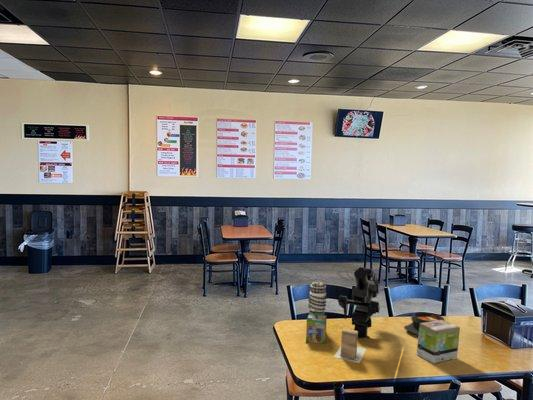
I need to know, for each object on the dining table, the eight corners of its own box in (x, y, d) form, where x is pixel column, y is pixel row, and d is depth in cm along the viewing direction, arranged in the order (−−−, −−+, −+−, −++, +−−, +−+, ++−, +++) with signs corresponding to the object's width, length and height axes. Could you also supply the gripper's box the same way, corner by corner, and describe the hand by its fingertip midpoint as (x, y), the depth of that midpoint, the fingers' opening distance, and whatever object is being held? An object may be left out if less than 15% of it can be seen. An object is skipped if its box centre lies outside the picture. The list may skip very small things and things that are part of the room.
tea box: (434, 364, 171) (437, 330, 170) (416, 354, 180) (418, 322, 179) (458, 358, 178) (460, 326, 177) (439, 349, 187) (441, 318, 186)
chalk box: (325, 345, 185) (326, 314, 184) (305, 343, 187) (307, 312, 186) (326, 338, 194) (327, 308, 193) (307, 335, 196) (308, 306, 195)
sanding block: (342, 352, 176) (344, 328, 175) (356, 355, 173) (357, 331, 173) (340, 356, 172) (342, 331, 172) (354, 359, 170) (356, 334, 169)
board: (342, 345, 186) (342, 343, 186) (366, 350, 181) (366, 348, 181) (333, 359, 171) (333, 357, 171) (359, 365, 167) (359, 363, 167)
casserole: (433, 323, 221) (434, 309, 221) (460, 337, 204) (461, 320, 203) (396, 328, 212) (397, 312, 212) (421, 342, 195) (422, 325, 194)
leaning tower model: (327, 334, 198) (330, 285, 197) (310, 335, 196) (312, 285, 195) (321, 327, 207) (323, 280, 206) (304, 328, 205) (306, 280, 204)
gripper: (339, 278, 189) (332, 308, 180) (380, 284, 182) (374, 315, 172) (342, 291, 197) (335, 319, 187) (381, 297, 189) (376, 327, 180)
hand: (355, 320), depth 181 cm, fingers open, 9 cm apart
